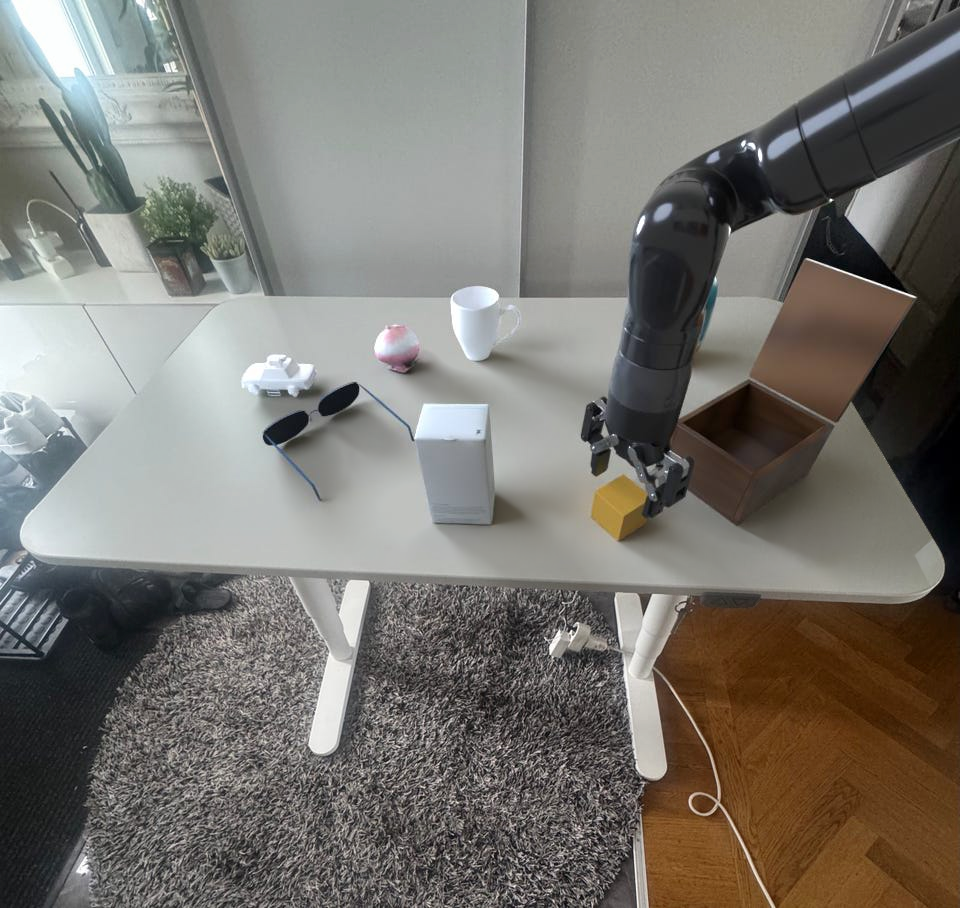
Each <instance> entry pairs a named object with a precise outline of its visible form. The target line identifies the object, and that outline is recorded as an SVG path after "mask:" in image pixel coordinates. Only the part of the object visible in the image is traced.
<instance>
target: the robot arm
mask: <svg viewBox="0 0 960 908" xmlns="http://www.w3.org/2000/svg"><path fill="white" fill-rule="evenodd" d="M958 140H960V6H958V7H956V8H954V9H953V10H951V11H949V12H947V13H945V14H944V15H941V16H940V17H938V18H937V19H935V20H933V21H930V22H929V23H927V24H926V25H924V26H922V27H920V28H919V29H917V30H915V31H913V32H912V33H910V34H908V35H906V36H904V37H902V38H901V39H899V40H897V41H895V42H894V43H892V44H890V45H889V46H887V47H885V48H883V49H881V50H880V51H878V52H876V53H875V54H873V55H871V56H870V57H868V58H865V60H863V61H861V62H860V63H857V64H856V65H854V66H852V67H851V68H850V69H847V70H846V71H844V72H843V73H842V74H840V75H838V76H836V77H834V78H833V79H832V80H830V81H828V82H826V83H825V84H823V85H822V86H820V87H818V88H817V89H815V90H814V91H812V92H810V93H808V94H807V95H805V96H804V97H802V98H801V99H799V100H798V101H797V102H795V103H792V104H791V105H789V106H788V107H786V108H785V109H783V110H782V111H780V113H778V114H777V115H775V116H774V117H772V118H770V119H769V120H768V121H766V122H765V123H762V125H760V126H758V127H756V128H753V129H750V130H749V131H746V132H744V133H742V134H740V135H738V136H736V137H734V138H732V139H729V140H727V141H725V142H723V143H722V144H719V145H717V146H715V147H713V148H711V149H709V150H707V151H705V152H703V153H702V154H700V155H698V156H696V157H694V158H693V159H690V161H688V162H685V163H684V164H683V165H681V166H680V167H678V168H677V169H675V170H673V171H672V172H671V173H670V174H668V175H667V176H666V177H665V178H664V179H663V180H662V181H661V182H660V183H659V184H658V185H657V187H656V188H655V189H654V190H653V192H652V194H651V196H650V197H649V199H648V200H647V201H646V203H645V204H644V206H643V208H642V209H641V210H640V213H639V214H638V216H637V219H636V221H635V224H634V228H633V230H632V236H631V241H630V246H629V252H628V263H627V293H626V294H627V295H626V296H627V304H626V308H625V311H624V316H623V321H622V327H621V332H620V339H619V344H618V349H617V351H616V354H615V357H614V361H613V364H612V369H611V375H610V381H609V386H608V387H609V388H608V393H607V397H606V396H600V397H599V398H597V399H595V400H593V401H591V402H589V403H587V404H586V405H585V410H584V417H583V421H582V426H581V430H580V439H581V440H582V441H583V442H584V443H588V445H590V446H589V449H590V452H591V456H590V457H591V458H590V463H589V464H590V468H591V472H590V473H591V474H592V475H593V476H594V477H599V476H600V475H602V474H604V473H606V471H608V469H609V463H610V459H611V452H612V449H613V450H614V451H615V454H616V455H617V456H618V457H620V458H621V459H623V460H625V461H626V462H627V463H628V464H629V466H631V467H632V468H633V469H635V472H636V475H637V478H638V481H639V482H640V483H641V484H644V487H645V489H646V492H647V493H648V496H647V497H646V501H645V504H644V508H643V511H642V516H643V517H644V518H646V519H647V520H648V519H650V518H651V519H654V518H656V516H658V515H659V514H661V513H662V512H663V511H664V508H667V509H668V508H671V507H673V506H675V505H676V504H677V503H679V502H680V501H682V500H683V499H685V498H687V497H686V496H687V493H688V490H687V489H688V486H689V482H690V478H691V474H692V471H693V467H694V460H693V458H692V457H690V456H686V457H684V458H680V457H679V456H677V455H676V454H674V453H673V452H671V446H670V439H671V437H672V435H673V433H674V431H675V429H676V426H677V423H678V419H680V416H681V412H682V410H683V406H684V402H685V399H686V395H687V392H688V388H689V385H690V382H691V377H692V373H693V364H694V359H695V355H696V354H695V352H696V349H697V345H698V342H699V338H700V335H701V331H702V327H703V323H704V318H705V310H706V308H705V305H706V302H707V299H708V296H709V293H710V291H711V288H712V285H713V282H714V279H715V277H716V276H717V272H718V270H719V267H720V264H721V261H722V258H723V255H724V252H725V249H726V246H727V243H728V240H729V238H730V235H732V234H733V233H736V232H738V231H739V230H741V229H743V228H745V227H747V226H750V225H752V224H754V223H757V222H759V221H761V220H764V219H766V218H768V217H771V216H773V215H775V214H778V213H780V214H782V215H784V216H790V217H793V216H800V215H802V214H805V213H808V212H811V211H814V210H816V209H818V208H821V207H824V206H826V205H828V204H830V203H831V202H832V201H837V200H838V199H840V198H842V197H844V196H846V195H849V194H850V193H853V192H854V191H857V190H859V189H861V188H863V187H865V186H867V185H869V184H871V183H873V182H876V181H877V180H879V179H882V178H884V177H886V176H888V175H890V174H892V173H894V172H896V171H898V170H900V169H902V168H904V167H907V166H908V165H910V164H912V163H914V162H916V161H918V160H920V159H923V158H924V157H926V156H928V155H930V154H932V153H934V152H936V151H938V150H940V149H942V148H944V147H946V146H948V145H951V144H952V143H954V142H956V141H958ZM604 425H605V428H606V431H607V434H608V435H607V436H604V435H603V434H602V433H603V429H604ZM611 448H612V449H611ZM653 465H655V466H654V468H652V469H651V470H649V471H648V469H647V468H648V467H651V466H653ZM656 481H657V483H658V486H657V485H656Z"/></svg>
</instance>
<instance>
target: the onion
mask: <svg viewBox="0 0 960 908" xmlns="http://www.w3.org/2000/svg"><path fill="white" fill-rule="evenodd" d="M420 350H421V348H420V343H419V340H418V338H417V336H416V334H415V333H414V332H413V331H412V330H411V329H410V328H408V327H406V326H405V325H400V324H393V325H386V326H385V329H383V330H382V331H381V332H380V333H379V334H378V335H377V338H376V339H375V344H374V353H375V356H376V358H377V359H378V360H379V361H381V362H382V363H385V364H387V369H388V370H392V371H395V372H398V373H403V374H405V373H406V372H407V371H408V370H410V369H411V368H412V367H414V366H415V365H416V363H417V362H418V361H419V360H421V357H420V358H418V356H419V354H420ZM417 358H418V359H417ZM416 359H417V360H416ZM415 360H416V361H415ZM414 361H415V362H414ZM413 362H414V364H412V365H411V366H407V365H408V364H410V363H413Z"/></svg>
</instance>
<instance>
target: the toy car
mask: <svg viewBox="0 0 960 908" xmlns="http://www.w3.org/2000/svg"><path fill="white" fill-rule="evenodd" d="M266 360H267V361H266V362H263V363H254V364H252V365H250V366H249V367H248V368H247V370H246V372H245V373H244V374H243V376H242V380H241V383H240V384H241V387H242V389H246V388H248V391H249V392H250V393H251V394H253V395H254V396H258V395H259V393H260V392H261V390H266V392H267V395H268V396H273V397H277V396H278V397H281V396H282V394H281V390H287V392H288V394H289V395H290V396H293V397H294V398H297V397H298V395H299V393H300V390H310V388H311V387H312V386H313V384H314V382H315V381H316V378H317V376H318V370H317V369H316V366H314V365H313V364H312V363H311V364H310V363H309V364H308V363H297V362H296V361H295V360H294V359H292V358H291V357H288V356H286V355H285V354H271V355H269V356H267V357H266ZM269 390H278V391H269Z"/></svg>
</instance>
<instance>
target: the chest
mask: <svg viewBox="0 0 960 908" xmlns="http://www.w3.org/2000/svg"><path fill="white" fill-rule="evenodd" d="M835 427H836V424H834V423H833V422H831V421H828V420H827V419H825V418H824V417H822V416H821V417H820V416H819V415H818V414H815V413H813V411H811V410H809V409H807V408H805V407H803V406H800V404H798V403H795V402H794V401H791V400H789V399H787V397H785V396H783V395H781V394H779V393H777V392H774V390H772V389H771V390H770V388H768V387H765V386H764V385H761V383H759V382H757V381H755V380H753V379H751V378H748V379H746V380H744V381H742V382H740V383H739V384H737V385H735V386H734V387H732V388H730V389H728V390H727V391H725V392H724V393H721V394H720V395H718V396H715V397H714V398H713V399H711V400H710V401H708V402H706V403H704V404H703V405H701V406H700V407H697V408H696V409H694V410H692V411H690V412H689V413H687V414H685V415H684V416H681V417H679V419H678V423H677V426H676V429H675V431H674V433H673V435H672V437H671V439H670V446H671V452H673V453H674V454H676V455H677V456H679V457H680V458H684V457H686V456H690V457H692V458H693V460H694V467H693V471H692V474H691V478H690V482H689V486H688V489H687V491H689V492H690V493H691V494H693V495H694V496H695V497H697V498H698V499H699V500H701V501H702V502H704V504H706V505H708V506H709V507H710V508H712V509H713V510H714V511H716V512H717V513H718V514H719V515H721V516H722V517H723V518H725V519H726V520H727V521H728V522H730V523H732V524H733V525H734V526H736V527H737V526H739V525H740V524H742V523H743V522H744V521H746V520H747V519H749V518H750V517H751V516H753V515H754V514H756V513H757V511H759V510H761V509H762V508H763V507H765V506H766V505H768V504H769V503H770V502H771V501H773V500H774V499H775V498H777V497H778V496H780V495H781V494H782V493H784V492H785V491H787V490H788V489H789V488H791V487H792V486H793V485H794V484H796V483H797V482H799V481H800V480H802V479H803V478H804V477H806V476H807V475H808V474H809V473H810V472H811V469H812V467H813V466H814V464H815V462H816V460H817V458H818V457H819V455H820V453H821V451H822V450H823V448H824V446H825V445H826V443H827V441H828V439H829V437H830V436H831V434H832V432H833V430H834V429H835Z"/></svg>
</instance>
